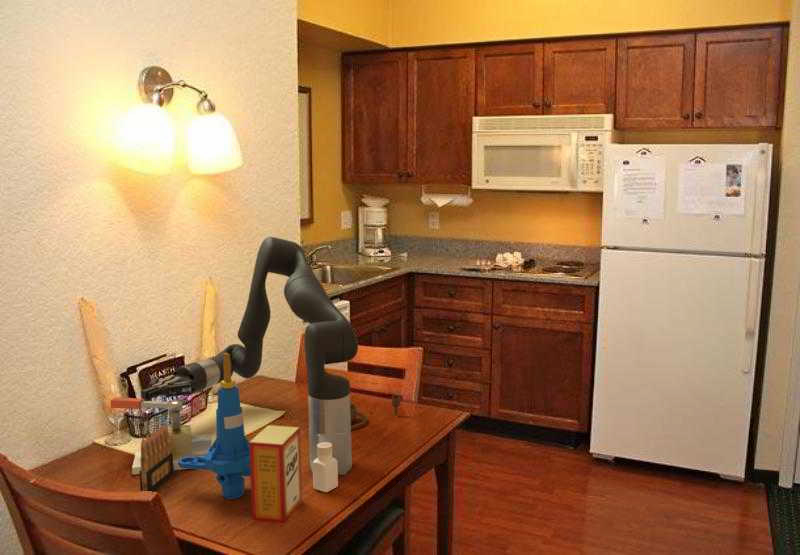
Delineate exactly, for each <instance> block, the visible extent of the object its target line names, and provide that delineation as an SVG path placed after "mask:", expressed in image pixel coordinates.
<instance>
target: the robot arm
mask: <svg viewBox="0 0 800 555" xmlns="http://www.w3.org/2000/svg"><path fill="white" fill-rule="evenodd" d="M269 273H271V274H277V275H279V276H284V277H287V278H288V279H286V283H285V284H284V287H283V296H284V299H285V300H286V303H287V304H288V306H289V308H290V310H291V311H292V313H293V314H294V315H295V317H298V318H299V319H301V320H302V321H304V322H306V323H308V325H306V327H305V330H304V337H303V338H304V340H303V343H304V354H305V363H306V364H305V367H306V382H307V397H308V398H307V400H308V401H307V402H308V405H307V406H308V438H309V441H308V442H309V464H310V467H309V468H310V470H311V472H312V473H313V461H314V460H315V459H317V458H318V455H317V444H319V443H322V442H328V443H331V444H332V457H333V458H335V459H336V460H337V466H338V476H343V475H344V476H345V475H347V474H348V472H349V471H351V469H352V467H353V465H352V464H353V461H352V460H353V458H352V430H351V426H352V422H351V413H350V403H351V384H350V380H349V379H348V378H346V377H344V376H342V375H339V374H335V373H334V374H333V373H331V372H327V371H326V368H325V365H333V364H340V363H346V362H348V361H351V360H353V359H354V358H355V357H356V356H357V353H358V351H359V341H358V336H357V334H356V332H355V329H354V327H353V325H352V324H351V323H350V321H349V320H348V318H347V317H346V316H345V315H344V314H343V313H342V312H341V311H340V310H339V308H337V307H336V305H335V304H334V303H333V301H332V300H331V298H330V296H329V294H328V293H327V292H326V289H325V288H324V286H323V285H322V283H321V281H320V280H319V279H318V277H317V276H316V274H315V272H314V271H313V270H312V268H311V265H310V264H309V262H308V258H307V256H306V253H305V251H304V249H303V247H302V246H301V245H300V244H298V243H296V242H295V241H292V240H287V239H283V238H279V237H275V236H267V237H265V238H264V239H263V241H262V242H261V244H260V246H259V249H258V252H257V255H256V260H255V264H254V269H253V274H252V277H251V278H252V279H251V284H250V288H249V294H248V298H247V304H246V308H245V310H244V313H243V316H242V319H241V322H240V326H239V328H238V330H237V331H238V332H237V337H238V340H239V341H240V342H241V343H242V344H243V345H241V344H237V343H233V344H230V345H228V346H226V347H225V348H224V349H223V350H222V351H220V352H219V353H218V354H216V355H215V356H212V357H208V358H206V359H205V358H204V359H199V360H197V361H193V362H190V363H187V364H184V365H181V366H178V367H177V368H176V369H175V371H174V373H173V374H172V375H171V374H170V375H167V376H166V377H164V378H163V379H160V378H159V377H158V376H154V377H152V378H151V381H150V382H149V384H148V386H149V387H147V388H145V389H142V390H141V391H140V397H141V398H140V399H144V401H150V400H152V399H155V398H156V397H159V398H161V397H164V396H165V398H171V397H178V396H187V397H188V396H191V395H195V394H197V393H199V392H202V391H205V390H208V389H210V388H212V387H214V386H215V385H218V384H220V382H221V381H223V380H224V368H223V354H224V353H228V354H230V363H231V377H232V376H233V374H234V373H235V374H237V375H239V377H241V378H243V379H252V378H253V377H254V376H256V375H257V373H258V372H259V371H260V368H261V365H262V360H263V359H262V358H263V348H264V337H265V336H266V333H267V330H268V327H269V324H270V321H271V307H270V303H269V298H268V295H267V294H268V293H267V288H266V283H267V276H268V274H269Z"/></svg>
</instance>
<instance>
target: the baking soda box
mask: <svg viewBox="0 0 800 555" xmlns="http://www.w3.org/2000/svg"><path fill="white" fill-rule="evenodd" d="M300 428H301V427H300V426H289V425H275V424H268V425H267V426H266V427H265V428H263V429H262V430H261V431H260V432H259V433H258V434H257V435H256V436H255V437H253V438H252V439H251V440H250V441H248V442H249V449H250V471H251V477H250V489H251V494H250V495H251V510H252V511H251V512H252V521H257V522H258V521H259V522H268V523H276V524H277V523H278V524H286V522H287V521H288V520H289V519H290V518H291V516H292V514H294V512H295V511H296V509H297V508H298V507H299V505H300V504H301V503H302V502H303V492H302V491H303V488H302V485H303V484H302V464H301V463H302V460H301V457H302V456H301V432H300V431H301V430H300Z"/></svg>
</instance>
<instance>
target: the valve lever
mask: <svg viewBox="0 0 800 555" xmlns="http://www.w3.org/2000/svg"><path fill="white" fill-rule="evenodd" d="M110 408H111V409H128V410H129V409H130V410H141V409H143V408H153V409H154V408H156V409H157V408H158V409H167V411H169V412H171V411H178V410H180V411H181V410H182V409H183V408H184V407H183V400H182V399H171V400H169V401H160V400H158V401H156V400H154V401H153V400H144V399H141V398H139V397H137V398H136V397H135V398H134V397H113V398H112V399H110Z"/></svg>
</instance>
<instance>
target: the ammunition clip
mask: <svg viewBox="0 0 800 555" xmlns="http://www.w3.org/2000/svg"><path fill="white" fill-rule="evenodd" d="M168 427H169V426H168V425H167V422H164V424H163V427H162V425H160V426H159V429H158V428H156V429H155V431H151V432H150V433H151V434H150V435H149V434H147V435H146V437H145V438H144V437H143V438H142V439H141V443H140V452H141V458H140V461H141V470H140V474H139V489H140V492H141V491H153V492H155V491H156V490H157V489H158V488H159V487H160V486H162V485H163V484H165V482H167V481H168V480H169V479H170V478H171V477H172V476H174V475H175V470H174V466H173V453H172V452H171V445H170V439H169V432H168ZM145 441H146V442H145ZM154 490H155V491H154Z"/></svg>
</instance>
